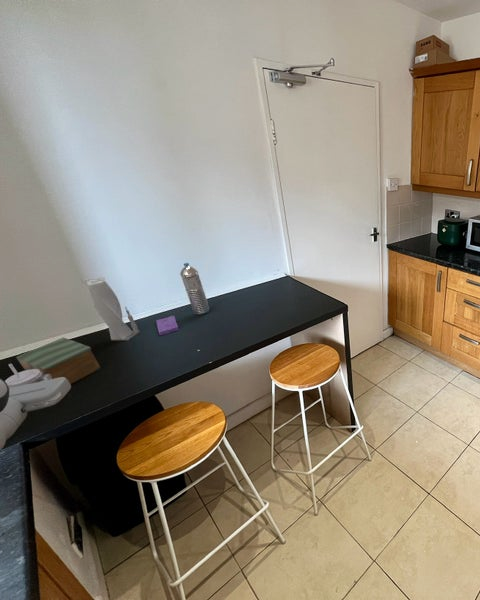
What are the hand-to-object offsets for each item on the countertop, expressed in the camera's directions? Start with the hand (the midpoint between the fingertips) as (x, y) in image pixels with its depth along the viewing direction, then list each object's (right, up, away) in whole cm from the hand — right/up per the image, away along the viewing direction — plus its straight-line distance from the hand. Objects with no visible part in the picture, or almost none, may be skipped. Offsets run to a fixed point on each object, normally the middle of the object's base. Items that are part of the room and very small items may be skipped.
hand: (28, 380), depth 82 cm
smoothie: (0, -7, +3) cm, 8 cm away
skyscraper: (-19, +5, +50) cm, 54 cm away
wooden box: (-21, -5, +29) cm, 36 cm away
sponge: (-5, +9, +57) cm, 58 cm away
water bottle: (+2, +15, +69) cm, 71 cm away
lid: (-20, +3, +25) cm, 32 cm away
